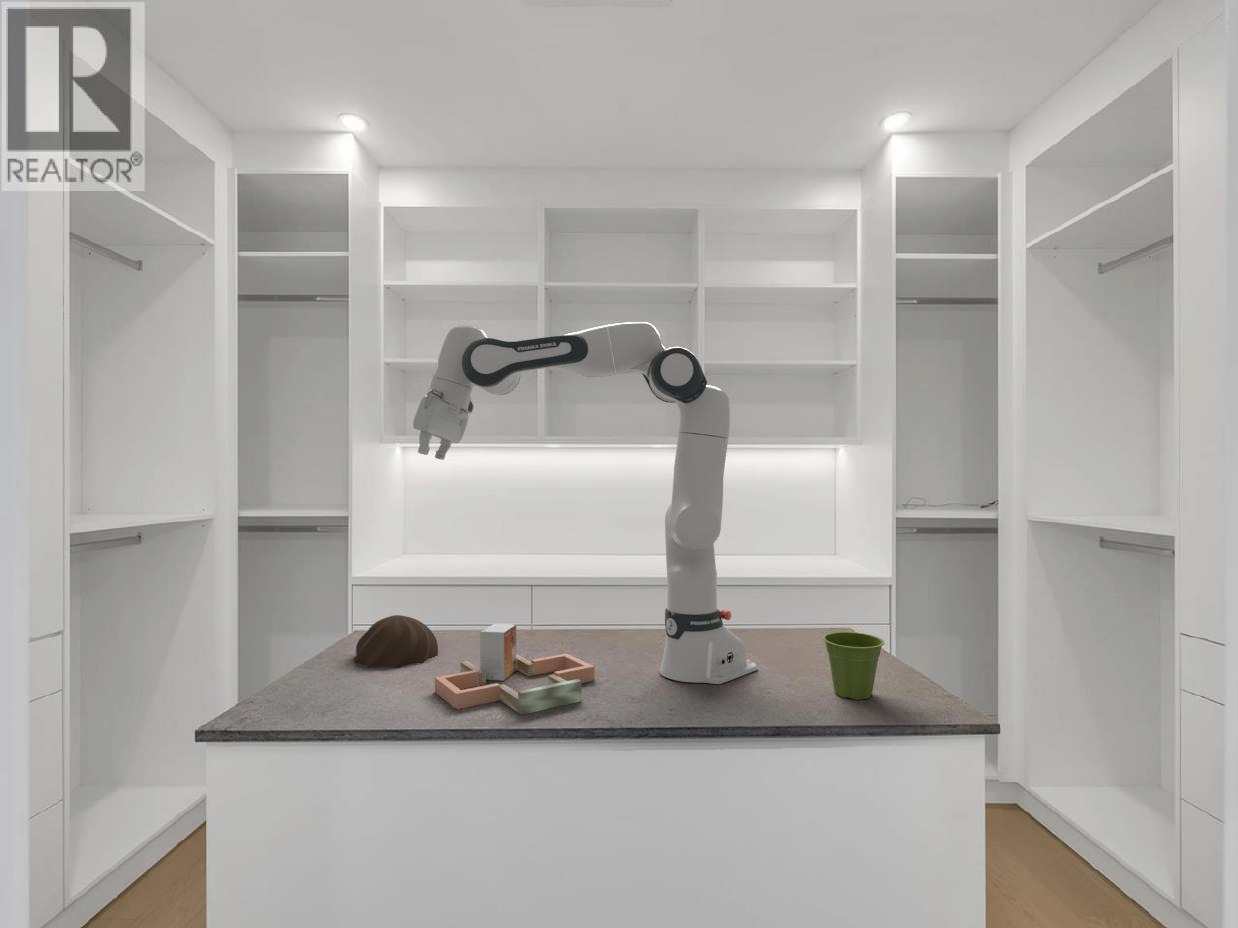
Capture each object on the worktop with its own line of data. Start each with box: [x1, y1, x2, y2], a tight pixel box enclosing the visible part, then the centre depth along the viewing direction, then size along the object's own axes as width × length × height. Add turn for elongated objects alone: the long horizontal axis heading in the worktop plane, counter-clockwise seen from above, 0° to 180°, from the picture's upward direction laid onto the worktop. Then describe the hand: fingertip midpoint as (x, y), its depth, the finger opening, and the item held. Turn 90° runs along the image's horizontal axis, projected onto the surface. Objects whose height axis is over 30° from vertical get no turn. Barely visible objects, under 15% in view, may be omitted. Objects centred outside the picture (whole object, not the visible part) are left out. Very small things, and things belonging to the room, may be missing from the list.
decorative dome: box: [354, 614, 439, 669], centre depth 169 cm, size 19×20×10 cm
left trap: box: [434, 670, 501, 710], centre depth 141 cm, size 9×12×3 cm
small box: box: [479, 623, 517, 681], centre depth 154 cm, size 8×6×10 cm
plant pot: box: [822, 631, 885, 701], centre depth 142 cm, size 12×12×11 cm
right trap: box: [530, 653, 596, 684], centre depth 153 cm, size 9×12×3 cm
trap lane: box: [459, 653, 582, 716], centre depth 147 cm, size 13×30×4 cm, turn 34°
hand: (431, 456), depth 154 cm, fingers open, 8 cm apart
